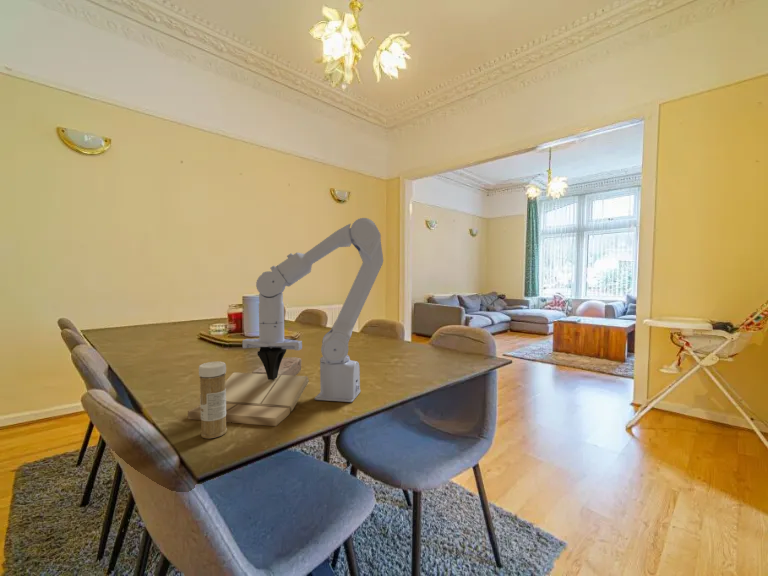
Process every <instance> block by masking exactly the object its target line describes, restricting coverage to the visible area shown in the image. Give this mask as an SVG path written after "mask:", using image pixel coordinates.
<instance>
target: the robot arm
mask: <svg viewBox="0 0 768 576" xmlns="http://www.w3.org/2000/svg"><path fill="white" fill-rule="evenodd" d="M381 238H382V235H381V232H380V230H379V228H378V227H377V224H376V222H374V221H373V220H372V219H370V218H367V217H360V218H358V219H355V221H353V223H352V224H351V223H348V224H346V225H344V226H343V227H340V228H338V229H337V230H336V231H334V232H333V233H332V234H330V235H329V236H328V237H326V238H324V239H323V240H321V241H320V242H319V243H318V244H316V245H315V246H313V247H312V248H311V249H309V250H308V251H306V252H305V253H303V252H295V253H289V254H288V255H286V257H287V258H286V259H285V260H283V261H282V262H280V263H278V265H272V266H271V267H270V271H264V272H262V274H261V275H259V276H258V278H257V280H256V282H255V283H256V285H255V286H256V289H257V292H258V293H259V294H258V329H259V330H258V332H259V333H258V336H259V338H246V339H242V343H241V344H242V349H259V350H258V351H257V353H256V354H257V356H258V358H259V359H260V360H261V363H262V366H264V367H265V370H266V373H267V377H268V380H274V379H275V378H277V375H278V370H279V367H280V364H281V361H282V358H284V356H285V354H286V353H287V350H294V351H300V350H302V349H303V340H295V339H288V338H287V339H286V338H285V304H284V293H283V292H284V291H285V289H286V287H291V286H293V285H294V284H295V283H297V282H298V281H300V280H301V279H303V278H304V277H305V276H307V275H309V274H310V273H311V272H312V268H313V264H315V263H316V262H319V261H320V260H321V259H323V258H324V257H326V256H328V255H329V254H331V253H332V252H334V251H335V250H337V249H338V248H349V247H351V246H352V245H353V246H354V248H355V249H356V250H357V251H358V255H359V257H360V258H361V262H362V263H361V265H360V267H359V270H358V272H357V274H356V276H355V279H354V280H353V282H352V286H350V289H349V291H348V294H347V295H346V297H345V300H344V303H343V305H342V307H341V308H340V311H339V313H338V315H337V317H336V320H335V321H334V323H333V325H332V327H331V329H330V330H329V331H328V332H327V333H325V334H324V336H323V337H322V341H321V347H320V348H321V349H320V350H321V351H320V352H321V355H322V357H319V359H320V360H319V364H320V365H319V367H320V369H319V374H320V375H319V378H320V392H319V393H318V394H317V395H316V396H315V397H314V400H315V401H330V402H344V403H353V402H354V400H355V399H356V398H357V397H358V395H359V394H360V393H361V381H360V380H361V377H360V375H361V371H360V370H361V369H360V363H359V362H358V361H356V360H351V358H350V355H348V352H349V342H350V339H351V338H352V333H353V331H354V328H355V325H356V323H357V321H358V318H359V316H360V314H361V312H362V310H363V308H364V305H365V303H366V301H367V298H368V296H369V295H370V292H371V291H372V288H373V286H374V284H375V281H376V279H377V276H378V275H379V272H380V271H381V268H382V267H383V263H384V255H383V248H382V246H383V245H382V242H381V241H382V239H381Z"/></svg>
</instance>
